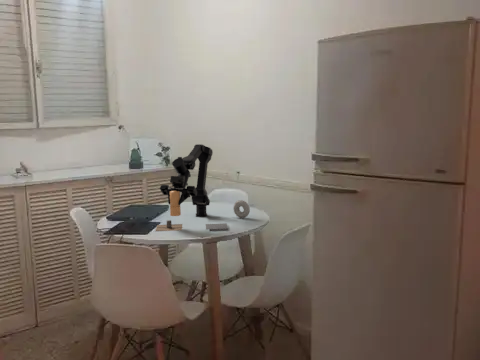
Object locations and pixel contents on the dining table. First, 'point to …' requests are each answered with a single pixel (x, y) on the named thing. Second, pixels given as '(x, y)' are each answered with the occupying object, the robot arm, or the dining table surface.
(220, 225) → the mat
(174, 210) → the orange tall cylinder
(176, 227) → the post board
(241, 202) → the donut
